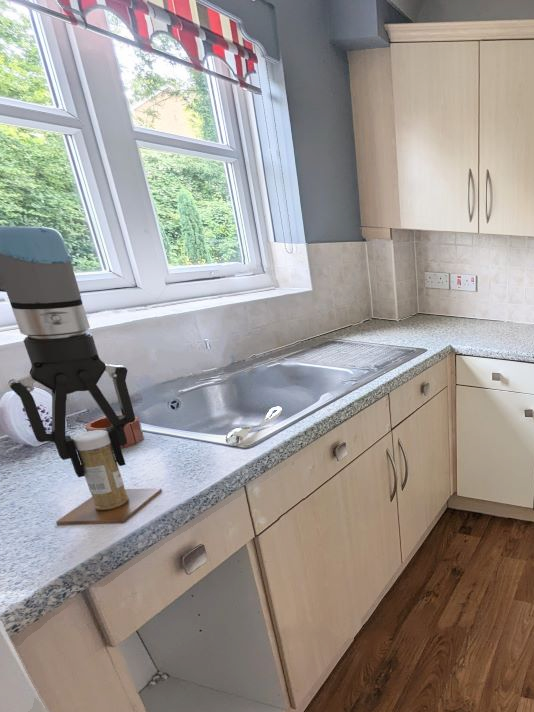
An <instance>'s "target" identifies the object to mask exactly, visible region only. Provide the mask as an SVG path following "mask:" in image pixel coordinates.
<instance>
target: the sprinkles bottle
mask: <svg viewBox="0 0 534 712" xmlns="http://www.w3.org/2000/svg"><path fill="white" fill-rule="evenodd" d="M71 438H72V440H73V442H74V445H75V448H76V451H77V454H78V457H79V460H80V463H81V466H82V469H83V472H84V475H85V476H84V478H85V482H86V484H87V487H88V491H89V493H90V494H91V497H93V500H94V503H95V505H94V506H95V508H96V509H98V510H108V509H113V508H116V507H119V506H121V505H123V504H124V503H126V502H127V501H128V496H127V494H126V491H125V489H126V488H125V485H124V481H123V477H122V474H121V471H120V469H119V468H120V467H119V464H118V463H117V462H116V459H115V456H114V453H113V450H112V447H111V438H110V435H109V433H108V432H107V431H104V430H95V431H88V432H87V431H85V432H82V433H81V432H80V433H79V434H76V435H74V436H73V437H71Z"/></svg>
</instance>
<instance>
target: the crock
mask: <svg viewBox="0 0 534 712" xmlns="http://www.w3.org/2000/svg"><path fill="white" fill-rule="evenodd" d="M116 415H117V416H118V417H120V416H122V414H120V413H119V414H116ZM134 415H135V421H134V422H132V423H128V424H126V425H125V426H124V432H125V435H126V439H127V444H126V445H122V446H120V447H121V449H124V448H127V447H130V446H133V445H136V444H138V443H140V442H142V441H144V437H145V435H144V431H143V428H142V424H141V420H140V417H139V416H138V415H136V414H134ZM110 426H112V425H111V424H110V422H109V421H108V419H107V418H106V416H103V417H100V418H96V419H94V420H91V421H89V422H88V423H86V425H85V430H86V431H85V432H88V431H95V430H104V431H107V430H106V427H110ZM111 447H112V446H111ZM112 451H113V449H112Z"/></svg>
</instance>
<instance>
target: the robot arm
mask: <svg viewBox="0 0 534 712" xmlns="http://www.w3.org/2000/svg"><path fill="white" fill-rule="evenodd" d="M77 281H78V280H77V278H76V275H75V271H74V267H73V263H72V255H70V253H69V251H68V248H67V246H66V243H65V239H63V235H62V234H61V232H59V231H58V230H57V229H55V228H52V227H46V226H25V225H0V293H6V295H7V298H8V300H9V304H10V307H11V310H12V312H13V316H14V318H15V322H16V325H17V327H18V330H19V332H20V334H21V335H24V336H26V337H25V338H24V339H23V345H24V347H25V349H26V353H27V356H28V358H29V361H30V365H31V368H30V370H29V374H28V375H24V376H23V377H20V378H18V379H17V378H16V379H15V378H13V379H10V380H8V386H9V387H10V389H11V391H13V392H14V393H15V394H16V395H17V396H18V397H19V398H20V401H21V404H22V407H23V410H24V411H25V414H26V417H27V419H28V422H29V425H30V428H31V430H32V432H33V435H34V437H35V439H36V441H37V442H39V443H45V442H52V443H54V445H55V448H56V451H57V453H58V456H59V458H60V459H61V460H63V461H65V460H69V459H70V461H71V464H72V467H73V470H74V473H75V475H76V476H77V478H82V477H85V475H84V472H83V469H82V466H81V462H80V459H79V456H78V453H77V451H76V448H75V445H74V442H73V440H72V438H73V437H71V436H70V435H66V428H67V427H66V424H67V422H66V421H67V411H66V410H67V400H68V395H69V394H73V393H76V392H88V394H90V396H91V398H92V399H93V400H94V402H95V403H96V404H97V406H98V408H99V409H100V410H101V413H102V414H103V415H104V417H106V418H107V419H108V421H109V422H110V424H111V425H112V426H110V427H106V430H107V432H108V433H109V435H110V438H111V446H112V449H113V450H112V451H113V453H114V457H115V460H116V462H117V465H118V466H119V467H123V466H126V460H125V457H124V453H123V451H122V448H121V447H120V446H122V445H126V444H127V439H126V435H125V432H124V426H125V425H126V424H128V423H132V422H134V421H135V415H136V414H135V411H134V407H133V404H132V401H131V396H130V393H129V390H128V389H129V388H128V385H127V381H126V379H127V376H128V368H127V367H125V366H124V365H123V364H118V363H117V364H107V363H105V362H104V361H103V360H102V359H101V358H100V356H99V353H98V350H97V346H96V342H95V339H94V336H93V334H92V333H91V332H89V331H88V330H89V329H91V326H90V323H89V320H88V316H87V314H86V309H85V307H84V304H83V299H82V296H81V295H82V294H81V292H80V288H79V284H78V282H77ZM105 372H106V373H107V375H108V376H109V377H110V378H111V379H112V383H113V387H114V391H115V394H116V398H117V401H118V404H119V408H120V412H121V415H122V416H120V417H118V416H117V415H118V414H116V412H115V410H114V408H113V407H112V406H111V404H110V403H109V402H108V400H107V399H106V397H105V396H104V394H103V393H102V391H101V389H100V388H99V386H98V385H97V384H98V382H99V380H100V379H101V378H102V376H103V375H104V373H105ZM35 382H36V383H38V384H40V385H42V386H44V387H45V388H47V389H49V390H51V431H50V430H49V431H46V428H45V426H44V423H43V420H42V417H41V414H40V411H39V409H38V406H37V404H36V401H35V399H34V396H33V395H32V393H31V392H33V391H34V390H35V386H34V383H35Z"/></svg>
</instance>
